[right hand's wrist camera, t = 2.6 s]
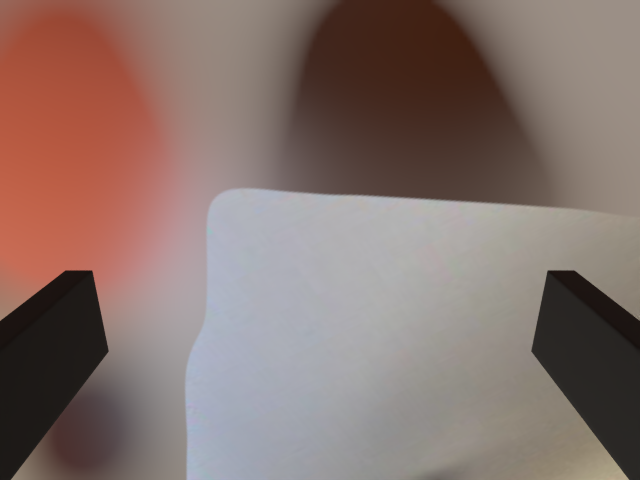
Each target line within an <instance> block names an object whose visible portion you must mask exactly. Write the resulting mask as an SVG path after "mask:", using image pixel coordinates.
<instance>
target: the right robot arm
mask: <svg viewBox="0 0 640 480" xmlns="http://www.w3.org/2000/svg"><path fill="white" fill-rule="evenodd" d="M531 352H532V353H533V354H534V355H535V357H536V358H537V359H538V361H539V362H540V363H541V365H542V366H543V367H544V369H545V370H546V371H547V373H548V374H549V375H550V376H551V378H552V379H553V380H554V382H555V383H556V384H557V386H558V387H559V388H560V390H561V391H562V392H563V394H564V395H565V396H566V397H567V399H568V400H569V401H570V403H571V404H572V405H573V407H574V408H575V409H576V411H577V412H578V413H579V414H580V416H581V417H582V418H583V420H584V421H585V422H586V424H587V425H588V426H589V428H590V429H591V430H592V432H593V433H594V434H595V435H596V437H597V438H598V439H599V441H600V442H601V443H602V445H603V446H604V447H605V449H606V450H607V451H608V453H609V454H610V455H611V456H612V458H613V459H614V460H615V462H616V463H617V464H618V466H619V467H620V468H621V470H622V471H623V472H624V474H625V475H626V476H627V477H628V479H629V480H640V321H639V320H638V319H636V318H635V317H634V316H633V315H631V314H630V313H629V312H627V311H626V310H625V309H624V308H622V307H621V306H620V305H618V304H617V303H616V302H614V301H613V300H612V299H611V298H609V297H608V296H607V295H605V294H604V293H603V292H602V291H600V290H599V289H598V288H596V287H595V286H594V285H592V284H591V283H590V282H589V281H587V280H586V279H585V278H583V277H582V276H581V275H579V274H578V273H577V272H576V271H548V272H547V277H546V282H545V287H544V292H543V297H542V301H541V306H540V311H539V316H538V321H537V326H536V331H535V336H534V341H533V346H532V351H531ZM107 353H108V346H107V341H106V336H105V331H104V326H103V321H102V316H101V311H100V306H99V302H98V297H97V292H96V287H95V282H94V277H93V272H92V271H64V272H63V273H62V274H61V275H59V276H58V277H57V278H55V279H54V280H53V281H51V282H50V283H49V284H48V285H46V286H45V287H44V288H42V289H41V290H40V291H39V292H37V293H36V294H35V295H33V296H32V297H31V298H29V299H28V300H27V301H26V302H24V303H23V304H22V305H20V306H19V307H18V308H16V309H15V310H14V311H13V312H11V313H10V314H9V315H7V316H6V317H5V318H4V319H2V320H1V321H0V480H11V479H12V477H13V476H14V475H15V474H16V472H17V471H18V470H19V468H20V467H21V466H22V464H23V463H24V462H25V460H26V459H27V458H28V456H29V455H30V454H31V453H32V451H33V450H34V449H35V447H36V446H37V445H38V443H39V442H40V441H41V439H42V438H43V437H44V435H45V434H46V433H47V431H48V430H49V429H50V428H51V426H52V425H53V424H54V422H55V421H56V420H57V418H58V417H59V416H60V414H61V413H62V412H63V411H64V409H65V408H66V407H67V405H68V404H69V403H70V401H71V400H72V399H73V397H74V396H75V395H76V394H77V392H78V391H79V390H80V388H81V387H82V386H83V384H84V383H85V382H86V380H87V379H88V378H89V376H90V375H91V374H92V373H93V371H94V370H95V369H96V367H97V366H98V365H99V363H100V362H101V361H102V359H103V358H104V357H105V355H106V354H107Z"/></svg>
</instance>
